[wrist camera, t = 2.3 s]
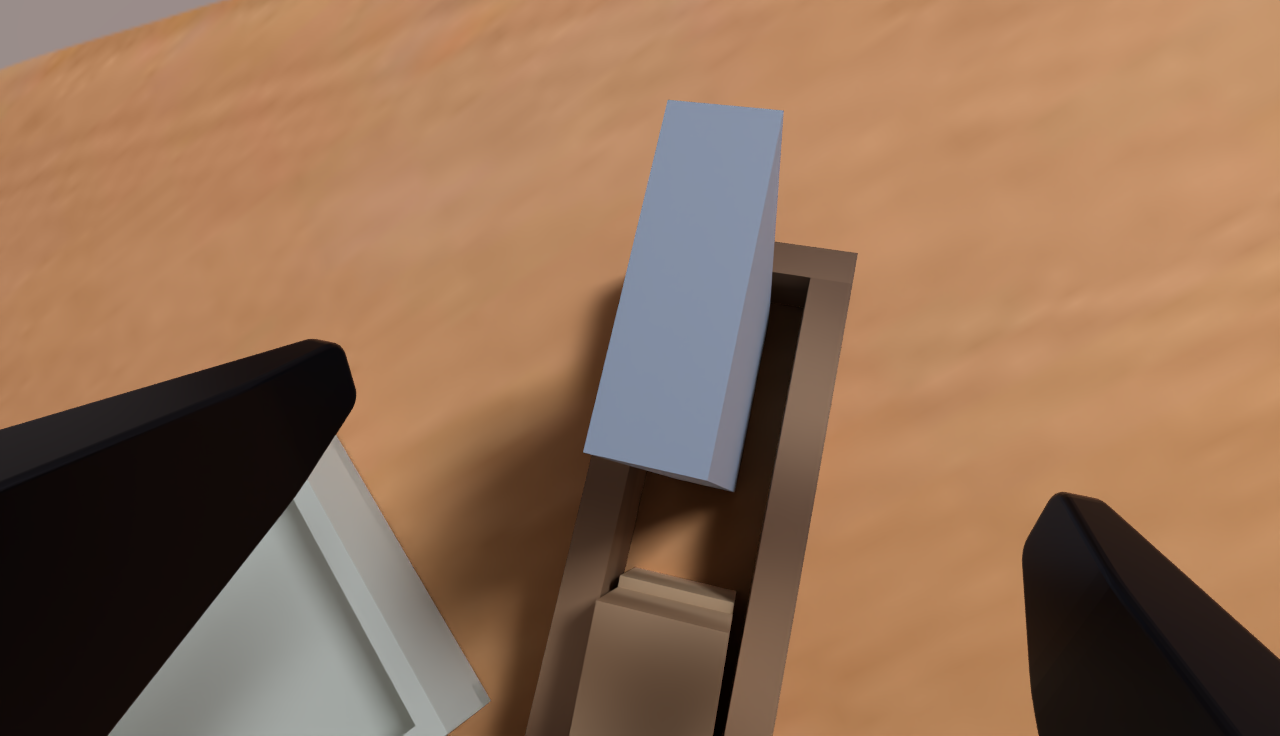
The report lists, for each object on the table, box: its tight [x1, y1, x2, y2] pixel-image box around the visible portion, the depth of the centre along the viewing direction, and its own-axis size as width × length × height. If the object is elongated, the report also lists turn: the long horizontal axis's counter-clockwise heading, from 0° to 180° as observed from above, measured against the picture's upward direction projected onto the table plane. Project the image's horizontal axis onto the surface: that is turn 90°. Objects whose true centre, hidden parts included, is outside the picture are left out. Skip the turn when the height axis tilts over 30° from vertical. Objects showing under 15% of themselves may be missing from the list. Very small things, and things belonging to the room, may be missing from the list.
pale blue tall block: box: [583, 100, 784, 492], centre depth 13 cm, size 5×2×10 cm, turn 167°
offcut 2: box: [569, 587, 733, 736], centre depth 14 cm, size 4×3×2 cm
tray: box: [108, 435, 491, 736], centre depth 17 cm, size 13×11×2 cm
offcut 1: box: [618, 567, 736, 614], centre depth 16 cm, size 4×3×2 cm
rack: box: [525, 242, 858, 736], centre depth 16 cm, size 15×5×2 cm, turn 167°
